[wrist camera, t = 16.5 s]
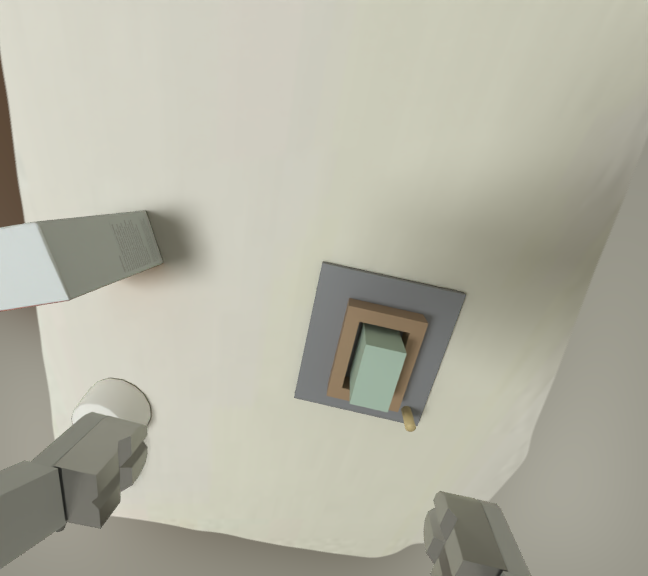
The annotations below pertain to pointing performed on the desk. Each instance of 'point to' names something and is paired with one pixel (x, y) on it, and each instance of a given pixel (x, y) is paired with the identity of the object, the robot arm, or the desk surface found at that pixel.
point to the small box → (72, 257)
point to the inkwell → (114, 403)
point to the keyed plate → (382, 310)
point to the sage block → (376, 367)
